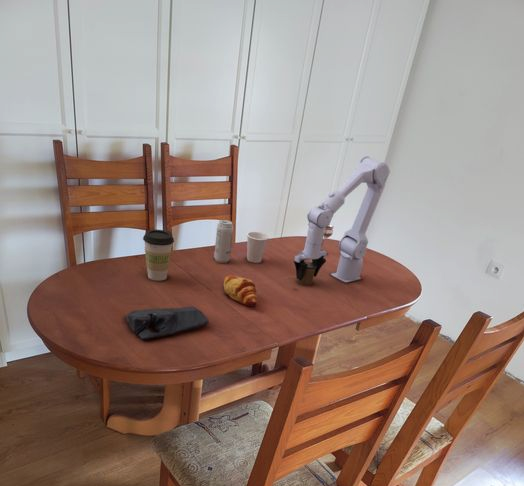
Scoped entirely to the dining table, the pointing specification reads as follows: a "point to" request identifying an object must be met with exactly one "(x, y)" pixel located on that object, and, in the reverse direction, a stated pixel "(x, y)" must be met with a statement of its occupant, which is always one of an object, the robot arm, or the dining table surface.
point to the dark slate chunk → (165, 321)
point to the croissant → (240, 290)
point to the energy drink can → (223, 241)
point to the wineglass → (327, 232)
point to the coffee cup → (158, 253)
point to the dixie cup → (256, 246)
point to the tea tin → (308, 274)
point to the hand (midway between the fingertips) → (306, 277)
